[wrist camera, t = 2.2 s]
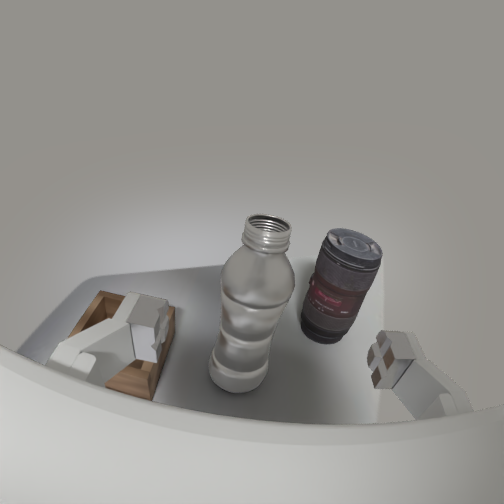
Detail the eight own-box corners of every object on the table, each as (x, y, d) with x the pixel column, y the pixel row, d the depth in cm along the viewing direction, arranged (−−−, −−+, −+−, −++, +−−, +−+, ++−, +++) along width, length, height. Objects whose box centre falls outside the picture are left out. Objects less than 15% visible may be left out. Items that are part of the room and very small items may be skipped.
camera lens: (299, 347, 40) (333, 253, 33) (293, 309, 47) (319, 223, 40) (352, 350, 40) (394, 262, 33) (340, 314, 47) (372, 232, 40)
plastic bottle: (204, 358, 35) (221, 204, 26) (257, 356, 37) (294, 210, 28) (210, 402, 30) (233, 240, 20) (269, 397, 32) (323, 244, 22)
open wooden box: (151, 402, 28) (147, 379, 26) (69, 376, 28) (58, 351, 26) (174, 332, 38) (174, 307, 36) (104, 315, 38) (100, 290, 36)
